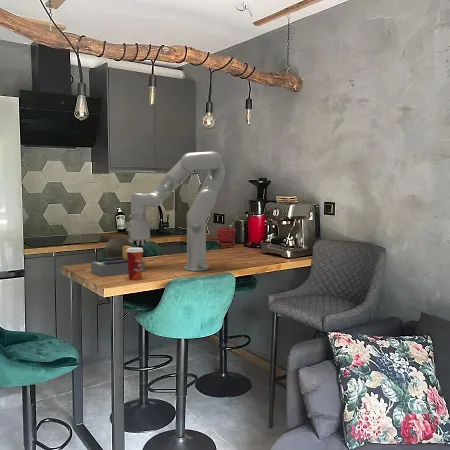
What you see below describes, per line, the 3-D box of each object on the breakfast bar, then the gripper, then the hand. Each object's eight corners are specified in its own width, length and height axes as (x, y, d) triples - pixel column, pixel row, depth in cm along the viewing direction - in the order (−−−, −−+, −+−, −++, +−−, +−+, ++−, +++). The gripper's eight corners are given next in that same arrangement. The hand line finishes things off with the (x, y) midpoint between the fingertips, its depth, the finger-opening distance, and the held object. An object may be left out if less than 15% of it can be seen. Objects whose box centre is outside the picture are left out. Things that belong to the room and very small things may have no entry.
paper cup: (139, 280, 205) (138, 249, 203) (123, 279, 207) (123, 249, 205) (146, 277, 212) (146, 247, 211) (131, 276, 214) (131, 246, 213)
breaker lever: (132, 262, 227) (132, 246, 226) (126, 263, 225) (126, 247, 225) (128, 261, 231) (128, 245, 230) (122, 262, 229) (122, 246, 229)
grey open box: (144, 271, 226) (144, 258, 226) (101, 276, 214) (101, 263, 213) (132, 267, 238) (132, 255, 237) (91, 272, 225) (90, 259, 224)
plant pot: (229, 246, 320) (229, 229, 319) (213, 245, 327) (213, 228, 326) (239, 244, 331) (239, 228, 330) (223, 243, 338) (223, 227, 337)
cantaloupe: (103, 263, 249) (103, 236, 248) (130, 262, 254) (129, 235, 253) (106, 268, 236) (106, 239, 234) (134, 266, 241) (134, 238, 239)
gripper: (128, 218, 223) (128, 255, 224) (155, 217, 231) (156, 253, 233) (121, 217, 229) (122, 253, 230) (149, 216, 237) (149, 251, 239)
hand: (139, 253), depth 232 cm, fingers closed
